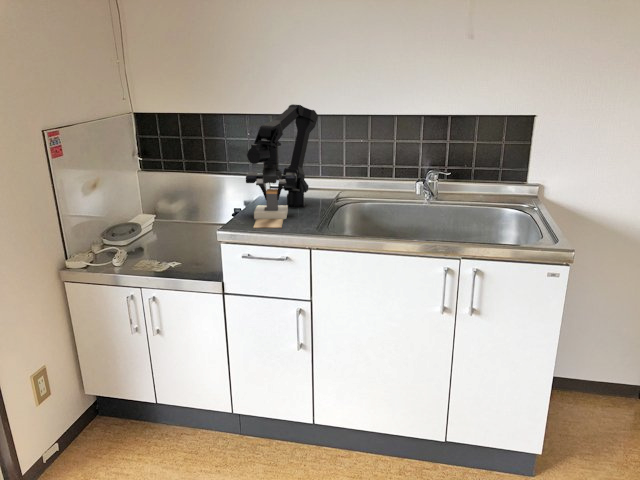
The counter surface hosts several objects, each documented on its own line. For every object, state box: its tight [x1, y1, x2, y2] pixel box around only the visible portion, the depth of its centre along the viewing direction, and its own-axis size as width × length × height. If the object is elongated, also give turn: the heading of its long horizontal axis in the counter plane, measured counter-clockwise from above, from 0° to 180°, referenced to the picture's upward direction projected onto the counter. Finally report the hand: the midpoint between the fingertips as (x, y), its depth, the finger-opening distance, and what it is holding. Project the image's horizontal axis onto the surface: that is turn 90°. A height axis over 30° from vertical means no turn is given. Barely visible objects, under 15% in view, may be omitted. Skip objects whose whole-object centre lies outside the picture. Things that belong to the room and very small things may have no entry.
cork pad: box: [252, 219, 284, 229], centre depth 196 cm, size 10×10×1 cm
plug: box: [265, 188, 279, 211], centre depth 204 cm, size 4×4×8 cm
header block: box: [253, 204, 289, 220], centre depth 206 cm, size 12×10×3 cm
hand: (272, 200), depth 204 cm, fingers closed on plug, 4 cm apart
